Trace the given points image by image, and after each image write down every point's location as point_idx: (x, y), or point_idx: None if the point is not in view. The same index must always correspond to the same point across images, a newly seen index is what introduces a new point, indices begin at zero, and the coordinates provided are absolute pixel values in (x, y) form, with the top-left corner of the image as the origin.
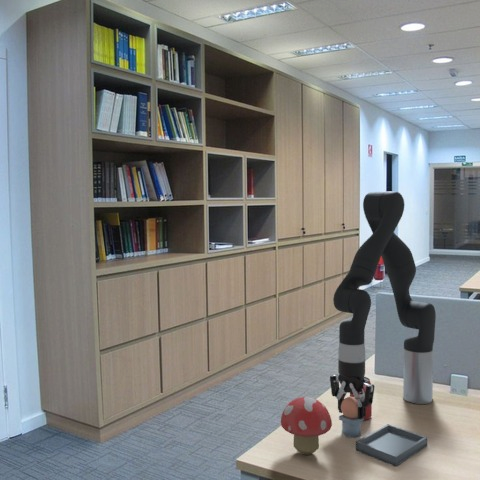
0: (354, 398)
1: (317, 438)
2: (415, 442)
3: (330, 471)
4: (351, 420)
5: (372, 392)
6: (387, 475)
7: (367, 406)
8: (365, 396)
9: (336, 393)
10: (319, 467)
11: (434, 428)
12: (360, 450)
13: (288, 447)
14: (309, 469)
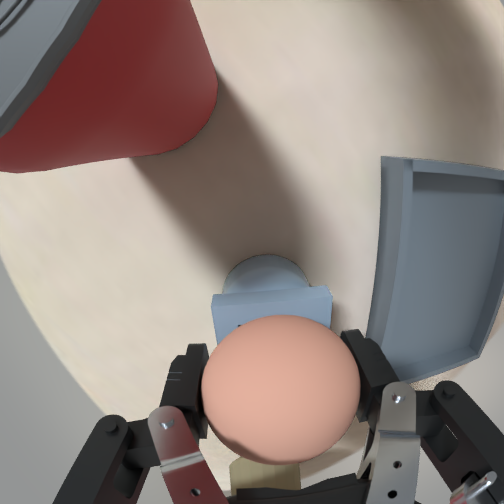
0: (317, 445)
1: (299, 483)
2: (493, 198)
3: (351, 447)
4: None
5: (500, 455)
6: (453, 378)
7: (206, 86)
8: (445, 472)
9: (148, 464)
10: (325, 454)
11: (449, 10)
12: None
13: (208, 454)
14: (313, 464)
